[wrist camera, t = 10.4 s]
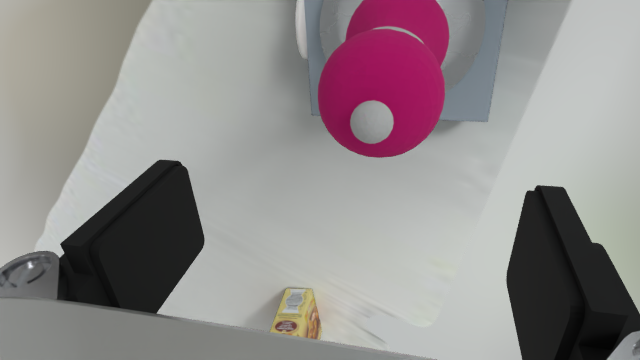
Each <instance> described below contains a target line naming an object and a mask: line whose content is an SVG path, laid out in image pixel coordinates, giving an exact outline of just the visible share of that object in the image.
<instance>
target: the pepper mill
mask: <svg viewBox="0 0 640 360" xmlns="http://www.w3.org/2000/svg"><path fill="white" fill-rule="evenodd" d="M448 45H449V26H448V22H447V18H446V16H445V13H444V11H443V10H442V8H441V6H440V5H439V4H438V2H437V1H436V0H363V1H362V2H361V4H360V5H359V6H358V7H357V9H356V10H355V12H354V13H353V15H352V17H351V20H350V22H349V25H348V28H347V32H346V39H345V42H344V43H342V44H341V45H340V46H339V47H338V48H337V49H336V50H335V51H334V52H333V53H332V54H331V56H330V57H329V59H328V60H327V62H326V63H325V66H324V68H323V70H322V73H321V76H320V80H319V84H318V105H319V111H320V115H321V118H322V121H323V122H324V124H325V126H326V128H327V130H328V131H329V133H330V134H331V135H332V136H333V137H334V139H335V140H336V141H337V142H339V143H340V144H341V145H342V146H344V147H346V148H347V149H349V150H350V151H353V152H355V153H358V154H361V155H364V156H368V157H379V158H380V157H391V156H396V155H400V154H403V153H405V152H407V151H409V150H411V149H413V148H414V147H416V146H417V145H418V144H420V143H421V142H422V141H423V140H424V139H426V138H427V136H428V135H429V134H430V133H431V131H432V130H433V129H434V127H435V125H436V124H437V122H438V120H439V118H440V115H441V112H442V110H443V105H444V100H445V80H444V77H443V73H442V70H441V68H440V67H441V65H442V63H443V61H444V59H445V56H446V52H447V49H448Z"/></svg>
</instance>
